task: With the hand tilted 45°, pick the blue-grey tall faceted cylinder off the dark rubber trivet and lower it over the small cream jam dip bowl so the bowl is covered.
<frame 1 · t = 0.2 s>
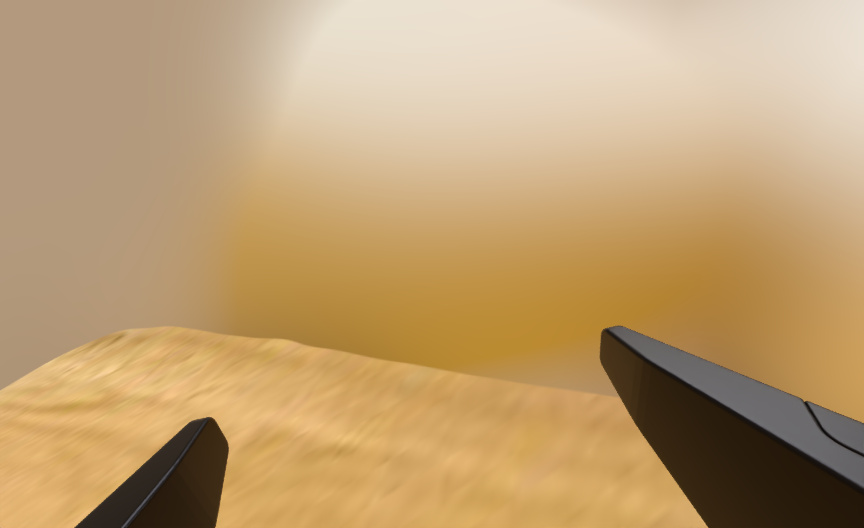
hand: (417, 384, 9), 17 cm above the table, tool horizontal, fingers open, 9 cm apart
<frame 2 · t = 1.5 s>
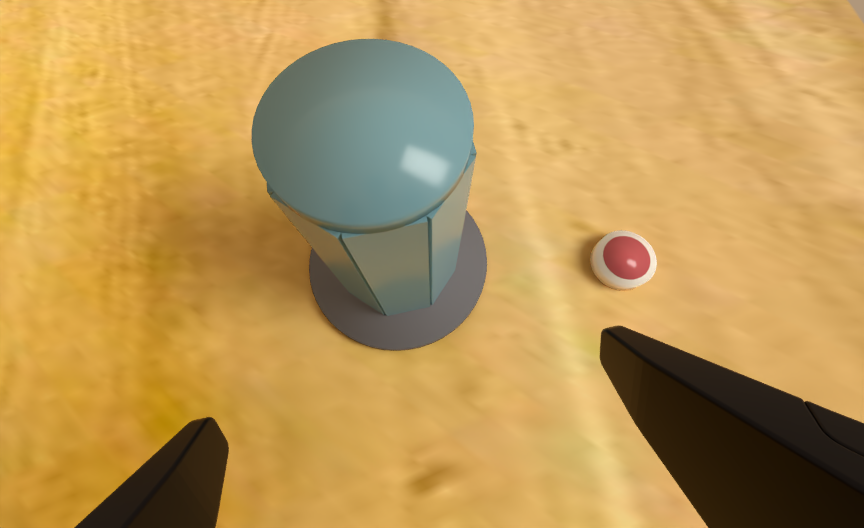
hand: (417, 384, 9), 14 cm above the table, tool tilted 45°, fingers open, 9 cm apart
dip bowl: (617, 264, 24), on the table
trivet: (398, 261, 24), on the table
blue-grey tall faceted cylinder: (398, 259, 24), resting on trivet
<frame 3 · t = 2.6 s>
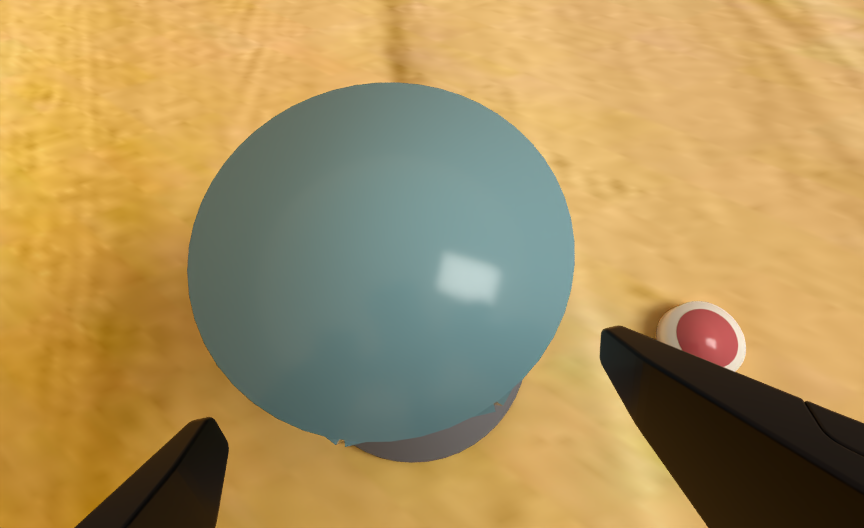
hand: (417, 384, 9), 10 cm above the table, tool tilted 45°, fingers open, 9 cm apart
dip bowl: (690, 341, 19), on the table
trivet: (415, 338, 19), on the table
blue-grey tall faceted cylinder: (414, 337, 19), resting on trivet
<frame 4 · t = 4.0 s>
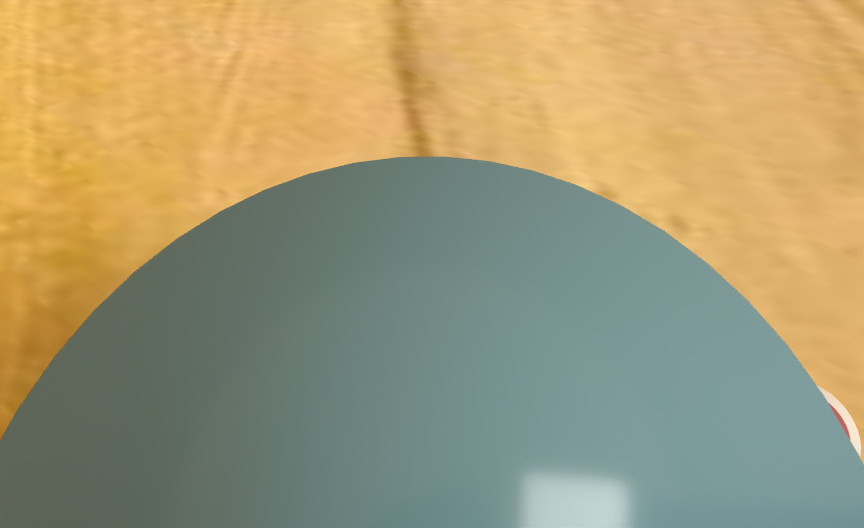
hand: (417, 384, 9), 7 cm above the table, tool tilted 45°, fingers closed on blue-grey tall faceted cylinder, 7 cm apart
dip bowl: (780, 428, 15), on the table
blue-grey tall faceted cylinder: (430, 425, 15), resting on trivet, touching gripper
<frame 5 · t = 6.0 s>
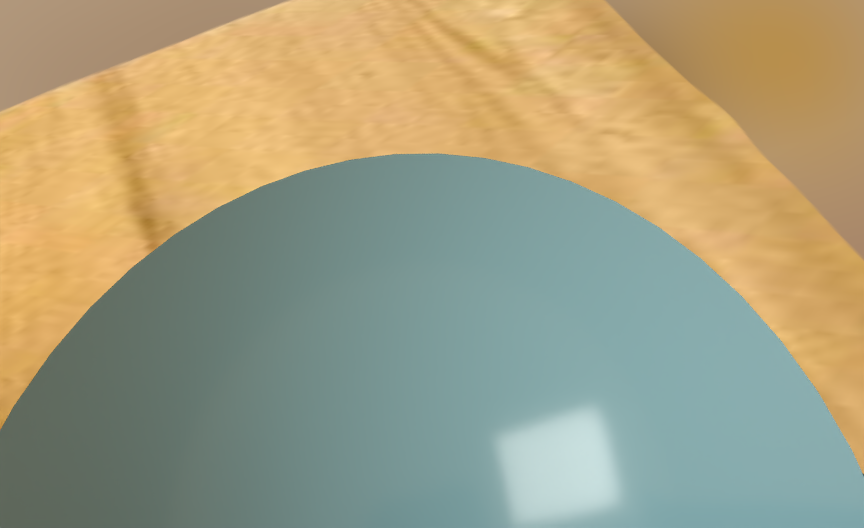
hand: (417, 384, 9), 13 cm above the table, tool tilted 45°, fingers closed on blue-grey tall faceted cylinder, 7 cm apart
blue-grey tall faceted cylinder: (429, 424, 15), point 7 cm above the table, touching gripper
when the fingers open (8 cm above the table, at t = 8.0 s): blue-grey tall faceted cylinder drops 1 cm, on the table.
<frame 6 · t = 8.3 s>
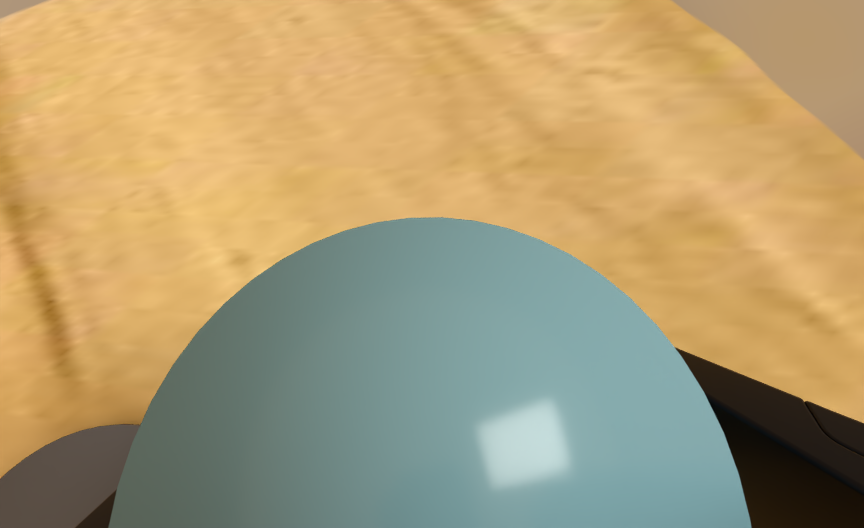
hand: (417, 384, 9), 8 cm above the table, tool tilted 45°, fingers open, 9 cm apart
blue-grey tall faceted cylinder: (431, 421, 16), on the table
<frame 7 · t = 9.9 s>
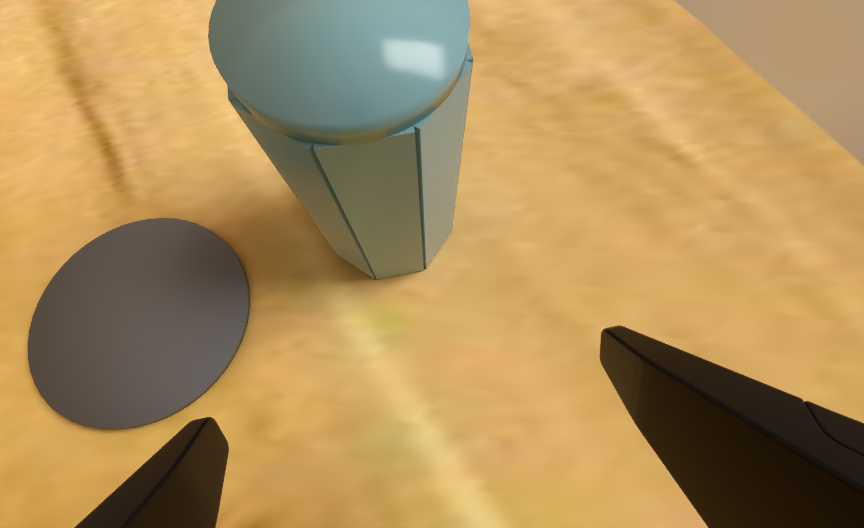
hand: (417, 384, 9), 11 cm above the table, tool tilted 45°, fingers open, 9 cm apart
trivet: (144, 315, 20), on the table
blue-grey tall faceted cylinder: (390, 220, 22), on the table
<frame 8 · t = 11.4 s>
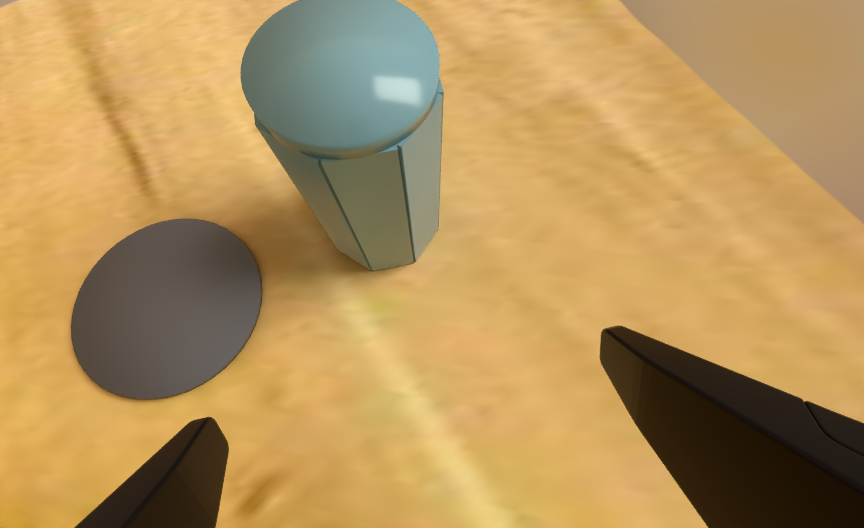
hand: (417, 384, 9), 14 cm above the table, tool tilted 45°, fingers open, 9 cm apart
trivet: (171, 303, 23), on the table
blue-grey tall faceted cylinder: (384, 219, 25), on the table
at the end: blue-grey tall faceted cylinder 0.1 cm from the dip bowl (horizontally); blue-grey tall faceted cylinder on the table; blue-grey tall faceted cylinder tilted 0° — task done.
